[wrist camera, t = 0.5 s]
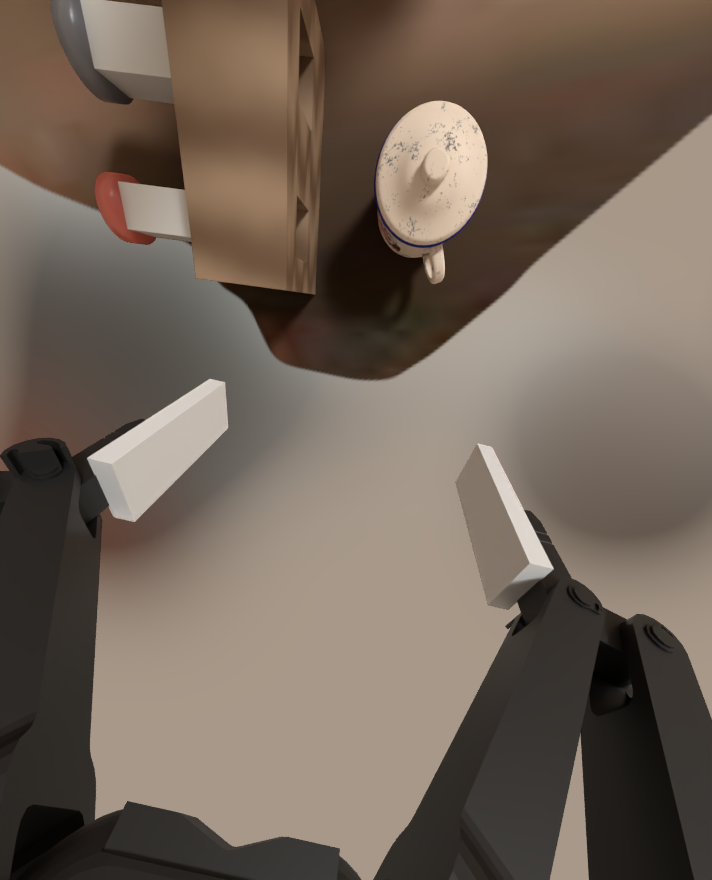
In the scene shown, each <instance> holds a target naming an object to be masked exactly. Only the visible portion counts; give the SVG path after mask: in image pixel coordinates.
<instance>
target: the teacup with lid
mask: <svg viewBox="0 0 712 880" xmlns="http://www.w3.org/2000/svg"><path fill="white" fill-rule="evenodd" d="M486 176H487V151H486V145H485V141H484V138H483V135H482V132H481V130H480V128H479V126H478V124H477V123H476V121H475V120H474V118H473V117H472V116H471V115H470V114H469V113H468V112H467V111H466V110H465V109H463V108H462V107H460V106H458V105H456V104H454V103H451V102H446V101H432V102H428V103H424V104H422V105H419V106H418V107H416V108H414V109H412V110H411V111H410V112H408V113H407V114H406V115H405V116H403V117H402V118H401V119H400V120H399V121H398V122H397V124H396V125H395V126H394V127H393V128H392V130H391V131H390V133H389V134H388V136H387V138H386V140H385V142H384V144H383V146H382V148H381V151H380V154H379V157H378V160H377V165H376V170H375V178H374V192H375V200H376V205H377V209H378V224H379V228H380V231H381V234H382V236H383V238H384V240H385V242H386V243H387V245H388V246H389V247H390V248H391V249H392V250H393V251H395V252H396V253H398V254H399V255H402V256H404V257H409V258H418V257H422V256H423V262H424V267H425V271H426V274H427V277H428V279H429V281H430V282H431V283H432V284H436V283H439V282H441V281H442V280H443V278H444V274H445V262H444V254H443V247H442V244H443V243H444V242H446V241H448V240H450V239H451V238H453V237H454V236H455V235H456V234H458V233H459V232H460V231H461V230H462V229H463V228H464V227H465V225H466V224H467V223H468V222H469V220H470V219H471V217H472V216H473V214H474V213H475V211H476V209H477V207H478V205H479V202H480V200H481V197H482V194H483V191H484V187H485V183H486Z"/></svg>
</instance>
